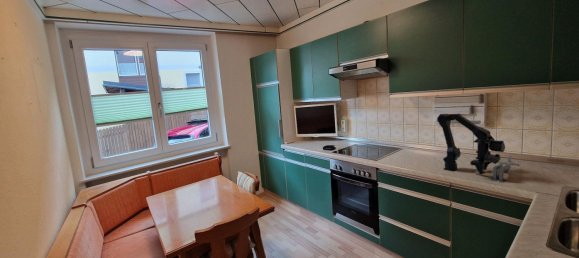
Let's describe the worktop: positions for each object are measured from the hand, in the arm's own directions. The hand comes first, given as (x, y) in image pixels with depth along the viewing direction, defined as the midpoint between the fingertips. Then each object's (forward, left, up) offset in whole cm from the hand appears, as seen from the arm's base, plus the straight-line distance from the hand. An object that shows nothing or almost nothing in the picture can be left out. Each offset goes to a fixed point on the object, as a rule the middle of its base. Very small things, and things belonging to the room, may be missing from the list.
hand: (482, 173), depth 161 cm
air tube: (+5, 0, -1) cm, 5 cm away
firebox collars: (+10, 0, -1) cm, 10 cm away
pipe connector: (+7, +19, -2) cm, 20 cm away
